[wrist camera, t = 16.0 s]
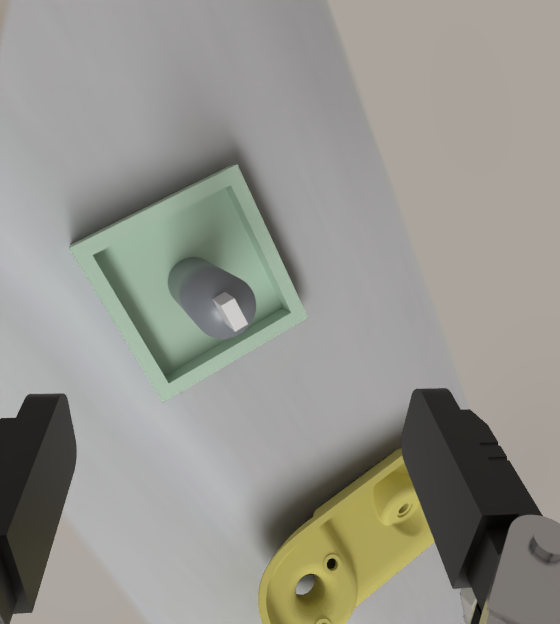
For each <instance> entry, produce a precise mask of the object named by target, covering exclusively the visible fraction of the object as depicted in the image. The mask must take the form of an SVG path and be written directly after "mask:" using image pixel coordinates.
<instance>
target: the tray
mask: <svg viewBox="0 0 560 624" xmlns="http://www.w3.org/2000/svg"><path fill="white" fill-rule="evenodd" d="M69 250H70V251H71V253H72V254H73V256H74V258H75V259H76V261H77V263H78V264H79V266H80V268H81V269H82V271H83V273H84V274H85V276H86V277H87V279H88V281H89V282H90V284H91V286H92V287H93V289H94V291H95V292H96V294H97V295H98V297H99V299H100V300H101V302H102V304H103V305H104V307H105V309H106V310H107V312H108V314H109V315H110V317H111V318H112V320H113V322H114V323H115V325H116V327H117V328H118V330H119V332H120V333H121V335H122V337H123V338H124V340H125V341H126V343H127V345H128V346H129V348H130V350H131V351H132V353H133V355H134V356H135V358H136V359H137V361H138V363H139V364H140V366H141V368H142V369H143V371H144V373H145V374H146V376H147V378H148V379H149V381H150V382H151V384H152V386H153V387H154V389H155V391H156V392H157V394H158V396H159V397H160V399H161V400H162V402H165V401H166V400H168V399H170V398H172V397H173V396H175V395H177V394H178V393H180V392H182V391H183V390H185V389H187V388H189V387H190V386H192V385H194V384H195V383H197V382H199V381H201V380H202V379H204V378H206V377H207V376H209V375H211V374H213V373H214V372H216V371H218V370H219V369H221V368H223V367H225V366H226V365H228V364H230V363H231V362H233V361H235V360H237V359H238V358H240V357H242V356H243V355H245V354H247V353H248V352H250V351H252V350H254V349H255V348H257V347H259V346H260V345H262V344H264V343H266V342H267V341H269V340H271V339H272V338H274V337H276V336H278V335H279V334H281V333H283V332H284V331H286V330H288V329H290V328H291V327H293V326H295V325H296V324H298V323H300V322H301V321H303V320H305V319H307V318H308V316H307V314H306V312H305V310H304V308H303V305H302V303H301V301H300V299H299V297H298V295H297V292H296V290H295V288H294V286H293V284H292V282H291V279H290V277H289V275H288V273H287V271H286V269H285V266H284V264H283V262H282V260H281V258H280V256H279V253H278V251H277V249H276V247H275V245H274V243H273V240H272V238H271V236H270V234H269V232H268V230H267V227H266V225H265V223H264V221H263V219H262V217H261V214H260V212H259V210H258V208H257V206H256V204H255V201H254V199H253V197H252V195H251V193H250V191H249V188H248V186H247V184H246V182H245V180H244V178H243V175H242V173H241V171H240V169H239V167H238V165H232V166H227V167H225V168H223V169H221V170H219V171H217V172H215V173H213V174H211V175H209V176H207V177H205V178H203V179H201V180H199V181H197V182H195V183H193V184H191V185H189V186H187V187H185V188H183V189H181V190H179V191H177V192H175V193H173V194H171V195H169V196H167V197H165V198H163V199H161V200H159V201H157V202H155V203H153V204H151V205H149V206H147V207H145V208H143V209H141V210H139V211H137V212H135V213H133V214H131V215H129V216H127V217H125V218H123V219H121V220H119V221H117V222H115V223H113V224H111V225H109V226H107V227H105V228H103V229H101V230H99V231H97V232H95V233H93V234H91V235H89V236H87V237H85V238H83V239H81V240H79V241H77V242H75V243H73V244H71V245H70V246H69ZM190 257H197V258H201V259H204V260H206V261H208V262H210V263H212V264H213V265H215V266H217V267H219V268H221V269H223V270H225V271H227V272H229V273H230V274H232V275H234V276H236V277H238V278H240V279H242V280H243V281H245V282H246V283H247V284H248V285H249V286H250V288H251V289H252V291H253V293H254V295H255V299H256V312H255V316H254V319H253V321H252V323H251V324H250V326H249V327H248V328H247V329H246V330H245V331H244V332H243V333H241V334H240V335H238V336H236V337H233V338H229V339H217V338H213V337H210V336H208V335H207V334H205V333H204V332H203V331H202V330H201V329H200V328H199V327H198V326H197V325H196V324H195V322H194V321H193V320H192V319H191V318H190V317H189V316H188V315H187V313H186V312H185V311H184V310H183V309H182V308H181V307H180V305H179V304H178V303H177V302H176V301H175V300H174V299H173V297H172V296H171V294H170V292H169V289H168V277H169V274H170V272H171V270H172V268H173V267H174V266H175V265H176V264H177V263H178V262H180V261H181V260H183V259H186V258H190Z"/></svg>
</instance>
